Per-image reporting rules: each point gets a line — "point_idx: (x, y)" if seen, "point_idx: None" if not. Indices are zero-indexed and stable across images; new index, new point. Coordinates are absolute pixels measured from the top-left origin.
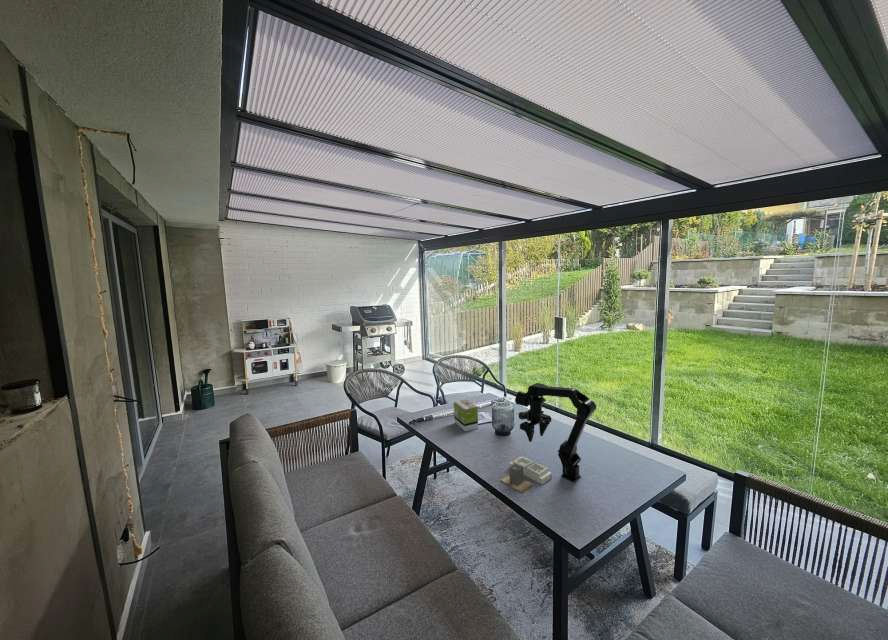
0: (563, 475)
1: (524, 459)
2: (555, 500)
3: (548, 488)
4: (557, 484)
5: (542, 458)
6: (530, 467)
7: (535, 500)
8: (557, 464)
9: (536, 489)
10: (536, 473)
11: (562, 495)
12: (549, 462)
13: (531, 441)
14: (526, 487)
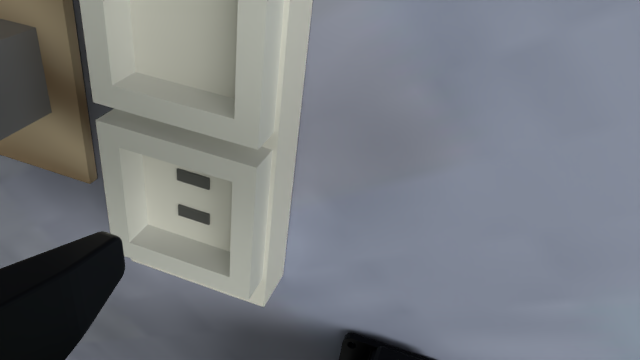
0: (354, 351)
1: (242, 10)
2: (96, 322)
3: (154, 274)
4: (236, 316)
5: (613, 108)
6: (144, 151)
7: (7, 234)
8: (545, 282)
9: (84, 212)
10: (114, 226)
11: (161, 348)
12: (545, 206)
13: (110, 285)
14: (25, 158)
